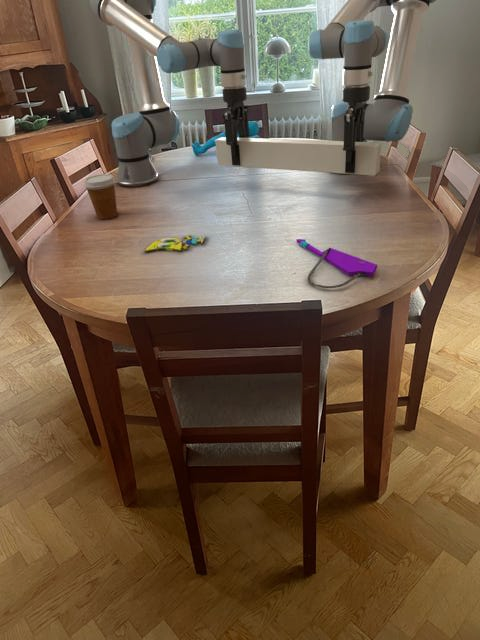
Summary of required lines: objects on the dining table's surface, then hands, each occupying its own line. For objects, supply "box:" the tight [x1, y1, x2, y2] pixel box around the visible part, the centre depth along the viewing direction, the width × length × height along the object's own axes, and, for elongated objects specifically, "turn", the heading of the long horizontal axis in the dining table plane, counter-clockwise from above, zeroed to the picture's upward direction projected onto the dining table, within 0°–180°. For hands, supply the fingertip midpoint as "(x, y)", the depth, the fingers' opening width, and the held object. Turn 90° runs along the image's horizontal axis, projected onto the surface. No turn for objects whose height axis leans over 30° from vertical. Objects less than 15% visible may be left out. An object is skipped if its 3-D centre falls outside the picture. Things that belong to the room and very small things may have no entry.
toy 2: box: [191, 120, 261, 156], centre depth 207 cm, size 17×11×30 cm
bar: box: [215, 137, 382, 177], centre depth 152 cm, size 54×4×8 cm, turn 62°
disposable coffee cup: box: [83, 173, 118, 220], centre depth 151 cm, size 10×10×12 cm
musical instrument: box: [295, 238, 378, 289], centre depth 112 cm, size 24×2×20 cm
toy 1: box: [144, 234, 207, 254], centre depth 130 cm, size 10×1×15 cm
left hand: (239, 162), depth 163 cm, fingers closed on bar, 4 cm apart
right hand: (352, 169), depth 146 cm, fingers closed on bar, 4 cm apart
